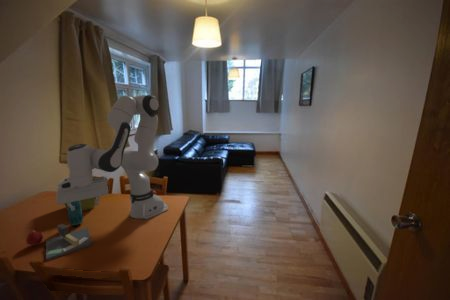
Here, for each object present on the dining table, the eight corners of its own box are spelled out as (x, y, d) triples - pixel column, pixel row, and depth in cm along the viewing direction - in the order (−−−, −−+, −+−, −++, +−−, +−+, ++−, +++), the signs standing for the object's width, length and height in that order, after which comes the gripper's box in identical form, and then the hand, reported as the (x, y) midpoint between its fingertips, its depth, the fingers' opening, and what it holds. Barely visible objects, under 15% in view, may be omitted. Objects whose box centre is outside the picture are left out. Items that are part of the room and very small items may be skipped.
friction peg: (64, 234, 107) (62, 223, 106) (80, 244, 100) (78, 232, 99) (59, 237, 105) (56, 225, 104) (75, 247, 98) (73, 235, 97)
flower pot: (63, 218, 125) (59, 191, 121) (62, 206, 139) (58, 182, 136) (100, 208, 137) (97, 184, 133) (95, 198, 151) (92, 175, 147)
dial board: (87, 229, 114) (87, 227, 114) (92, 245, 102) (91, 242, 102) (46, 242, 104) (46, 239, 104) (46, 260, 92) (45, 258, 92)
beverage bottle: (67, 226, 117) (61, 192, 112) (78, 220, 123) (73, 188, 118) (75, 229, 115) (69, 194, 110) (86, 222, 121) (81, 189, 116)
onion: (25, 247, 100) (21, 232, 98) (39, 240, 105) (36, 225, 103) (32, 250, 98) (29, 235, 96) (46, 243, 103) (43, 228, 101)
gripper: (106, 173, 106) (108, 199, 109) (54, 182, 94) (58, 210, 97) (108, 177, 101) (111, 204, 104) (53, 186, 89) (58, 216, 92)
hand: (85, 207), depth 101 cm, fingers open, 8 cm apart
